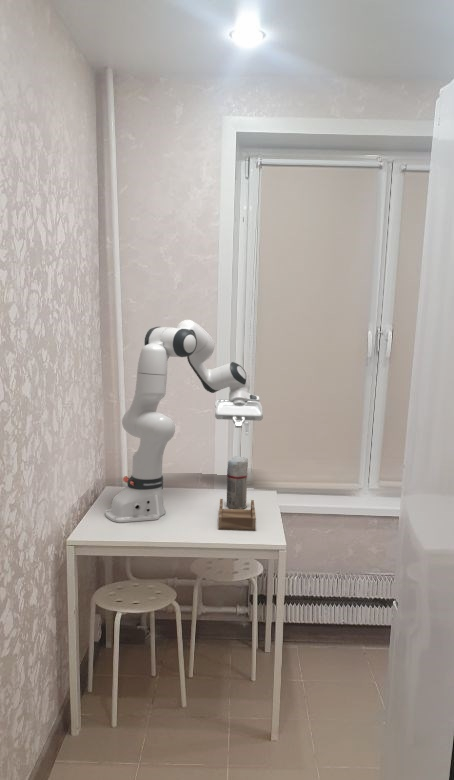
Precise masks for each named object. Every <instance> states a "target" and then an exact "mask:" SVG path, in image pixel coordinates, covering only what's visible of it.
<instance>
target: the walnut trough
mask: <svg viewBox="0 0 454 780" xmlns="http://www.w3.org/2000/svg"><path fill="white" fill-rule="evenodd" d="M223 502H224V499H223V498H220V499H219V508H218V509H219V511H218V524H217V526H218V529H217V530H221V531H248V532H249V531H250V532H252V531H253V532H256V520H257V519H256V510H255V507H256V506H255V500H254V499H250V509H246V508H243V509H231V508H224V507H223V506H224V505H223V504H224V503H223Z"/></svg>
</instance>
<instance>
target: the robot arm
mask: <svg viewBox="0 0 454 780" xmlns="http://www.w3.org/2000/svg"><path fill="white" fill-rule="evenodd" d="M214 350H215V341H214V339H213V338H212V335H210V333H208V331H206V330H205V328H203V326H201V325H199V323H197V322H196V321H194V320H192V319H183V320H182V321H180V322H179V323H178V324H177V325H176V327H173V326H155V327H151V328H150V329H148V331H147V332H146V335H145V337H144V346H143V347H142V348H141V349H140V354H139V358H138V362H137V371H136V372H137V373H136V383H135V390H134V396H133V400H132V401H131V402H132V403H131V404H130V407H129V408H128V410H127V411H126V412H125V413H124V414H123V417H122V420H121V423H122V428H123V429H124V431H126V432H127V433H128V434H129V435H131V436H132V437H135V438H138V439H139V440H140V441H139V446H138V448H137V451H136V452H134V454H133V455H132V466H131V468H132V474H131V476H124V477H123V478H122V480H123V482H125V483H127V486H125V488H124V489H122V490H121V491H120V492H118V493H117V494H116V495H115V496H114V497H113V498H112V501H111V506H110V508H108V509H105V510H104V516H105V517H106V518H107V519H108V520H110V521H112V522H114V523H129V522H143V521H154V520H155V521H157V520H159V519H160V517H162V516H163V515H165V514H166V509H165V505H164V499H163V489H164V476H163V458H164V452H165V449H166V447H167V446H166V445H167V444H168V442H169V441H171V439H173V437H174V435H175V434H176V433H175V432H176V425H175V421H173V419H172V418H171V417H169V416H168V415H166V414H165V413H163V412H158V411H157V409H158V405H159V404H160V402H161V400H163V399H164V398H165V395H166V392H167V391H166V390H167V380H168V361H169V358H171V357H173V358H176V357H177V358H186V359H187V363H188V364H189V366H190V367H191V369H192V370H193V372H194V374H195V375H196V376H197V378H198V379H199V380H200V382H201V385H202V386H203V388H204V389H205V390H206V391H207V392H209V393H211V394H213V393H217V392H218V391H219V392H220V391H221V390H223V389H226V388H229V395H228V399H218V400H216V401H215V403H214V406H215V413H214V417H215V419H216V420H225V421H226V420H227V421H228V420H229V421H230V420H231V421H232V422H233V424H234V428H238V429H242V428H243V425H244V424H245V422H246V421H256V422H257V421H258V422H260V421H262V420H263V419H264V411H263V404H262V403H261V399H260V396H258V395H256V394H252V393H250V392H249V391H250V390H251V389H250V386H251V385H250V384H251V382H250V375H249V372H248V370H247V369H246V368H245V367H243V366H241V364H238V363H237V362H234V361H231V362H227V363H225V364H223V365H220V366H217V367H215V368H209V369H208V368H207V367H206V365H205V364H204V363H205V362H206V361H208V360H209V359H210V358H211V356H212V355H213V353H214ZM238 421H240V422H238Z"/></svg>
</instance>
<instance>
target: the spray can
mask: <svg viewBox="0 0 454 780" xmlns="http://www.w3.org/2000/svg"><path fill="white" fill-rule="evenodd" d="M248 463H249V460H248V457H243V456H239V455H237V456H233V457H232V458H231V459H230V460H228V462H227V472H226V507H227V509H246V508H247V492H248V490H247V489H248V487H247V485H248V474H249V473H248V466H249V464H248Z"/></svg>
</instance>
